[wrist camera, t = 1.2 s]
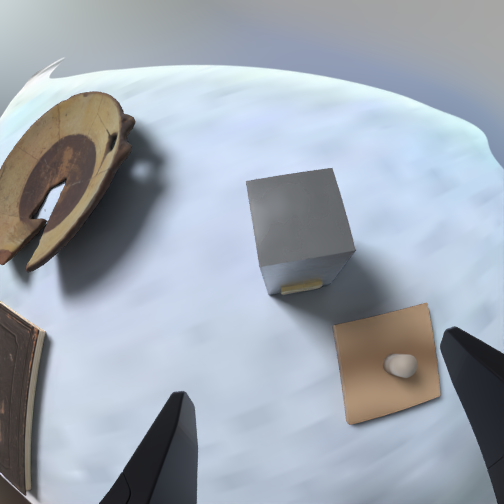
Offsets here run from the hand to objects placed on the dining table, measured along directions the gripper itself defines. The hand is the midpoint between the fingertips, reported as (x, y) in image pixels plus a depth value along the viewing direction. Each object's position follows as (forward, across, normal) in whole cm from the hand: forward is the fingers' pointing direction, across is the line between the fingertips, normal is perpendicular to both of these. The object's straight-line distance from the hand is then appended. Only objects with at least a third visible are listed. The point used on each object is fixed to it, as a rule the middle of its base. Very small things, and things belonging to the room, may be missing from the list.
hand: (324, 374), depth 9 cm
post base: (+8, -7, +12) cm, 16 cm away
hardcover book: (+9, +36, +12) cm, 39 cm away
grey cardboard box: (+15, -1, +5) cm, 16 cm away
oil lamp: (+27, +25, -5) cm, 37 cm away
